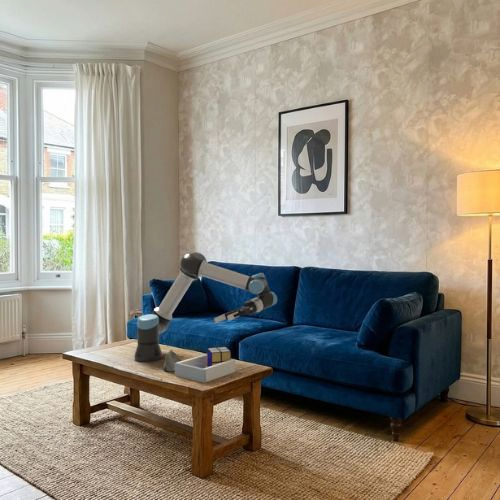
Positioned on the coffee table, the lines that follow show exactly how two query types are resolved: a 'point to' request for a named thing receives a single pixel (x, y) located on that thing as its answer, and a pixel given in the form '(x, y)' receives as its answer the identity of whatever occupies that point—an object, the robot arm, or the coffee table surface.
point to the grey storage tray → (195, 371)
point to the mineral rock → (170, 361)
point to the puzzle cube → (217, 355)
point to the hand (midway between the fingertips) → (221, 319)
